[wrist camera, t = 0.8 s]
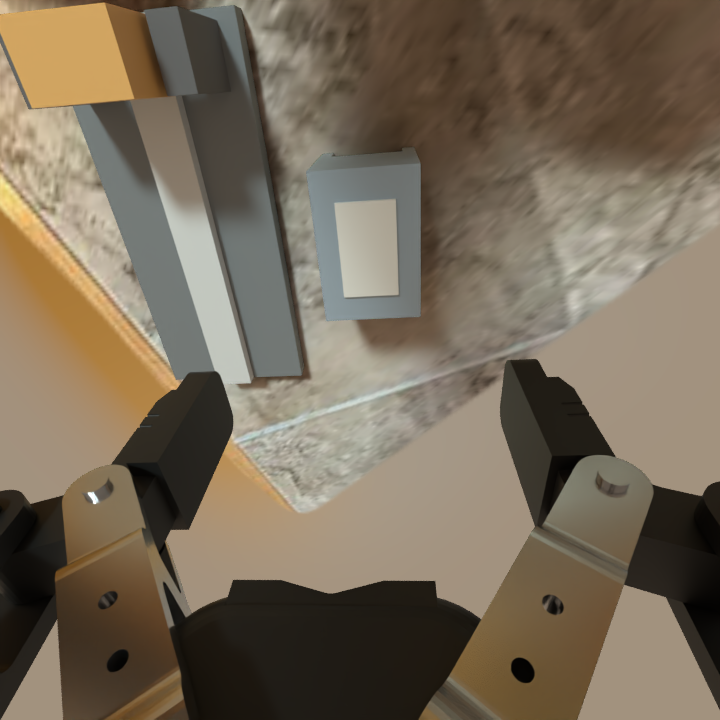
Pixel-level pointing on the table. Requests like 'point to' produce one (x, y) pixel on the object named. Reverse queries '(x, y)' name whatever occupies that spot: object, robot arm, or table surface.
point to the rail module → (368, 233)
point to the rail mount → (199, 200)
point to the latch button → (83, 55)
